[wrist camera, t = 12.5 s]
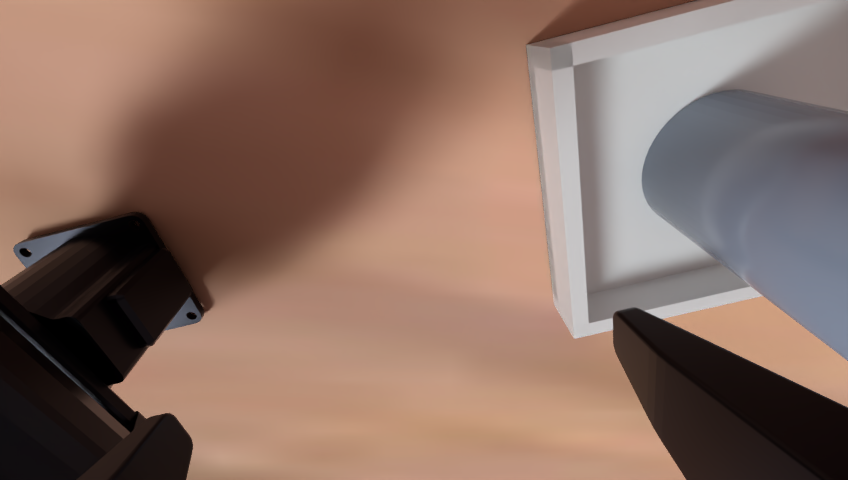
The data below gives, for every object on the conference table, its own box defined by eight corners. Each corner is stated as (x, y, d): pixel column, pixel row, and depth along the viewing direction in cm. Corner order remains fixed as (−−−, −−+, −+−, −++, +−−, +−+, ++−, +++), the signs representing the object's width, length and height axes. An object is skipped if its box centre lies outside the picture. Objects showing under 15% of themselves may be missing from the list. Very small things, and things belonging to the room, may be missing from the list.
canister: (612, 203, 20) (880, 438, 9) (698, 63, 18) (1256, 147, 6) (721, 241, 22) (1073, 487, 10) (818, 117, 19) (1453, 270, 8)
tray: (554, 304, 24) (574, 338, 21) (525, 44, 18) (549, 48, 15) (834, 239, 23) (891, 266, 21) (912, -56, 17) (1009, -72, 14)
